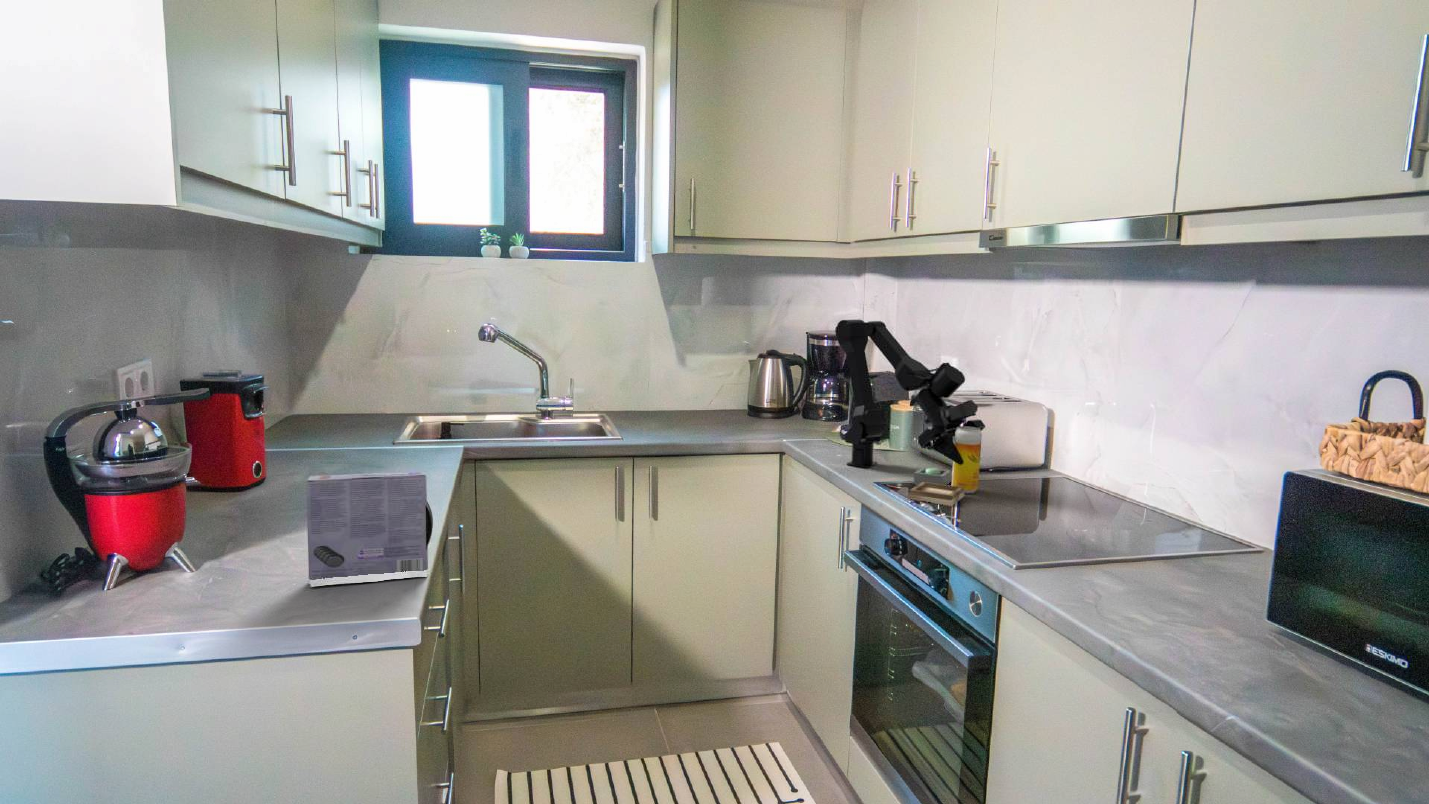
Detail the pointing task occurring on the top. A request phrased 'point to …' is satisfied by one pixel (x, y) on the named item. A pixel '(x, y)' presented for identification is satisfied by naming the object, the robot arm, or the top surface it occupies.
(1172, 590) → the top surface
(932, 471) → the button
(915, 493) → the shallow wooden tray
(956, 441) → the beer can
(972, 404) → the robot arm
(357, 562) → the cake pan box
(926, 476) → the button console
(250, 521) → the top surface
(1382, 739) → the top surface
